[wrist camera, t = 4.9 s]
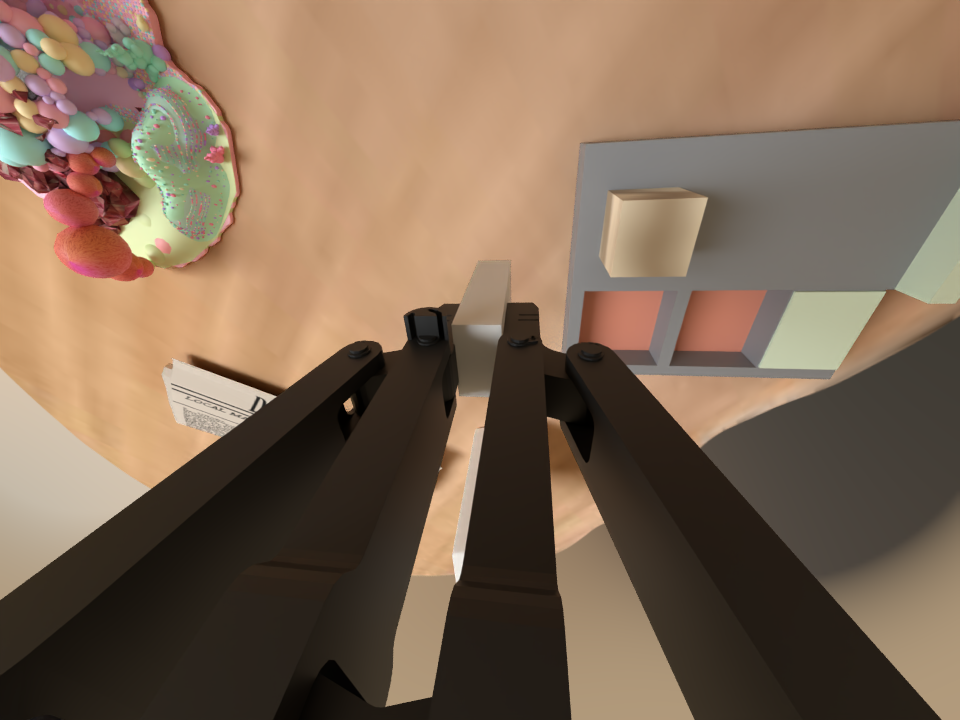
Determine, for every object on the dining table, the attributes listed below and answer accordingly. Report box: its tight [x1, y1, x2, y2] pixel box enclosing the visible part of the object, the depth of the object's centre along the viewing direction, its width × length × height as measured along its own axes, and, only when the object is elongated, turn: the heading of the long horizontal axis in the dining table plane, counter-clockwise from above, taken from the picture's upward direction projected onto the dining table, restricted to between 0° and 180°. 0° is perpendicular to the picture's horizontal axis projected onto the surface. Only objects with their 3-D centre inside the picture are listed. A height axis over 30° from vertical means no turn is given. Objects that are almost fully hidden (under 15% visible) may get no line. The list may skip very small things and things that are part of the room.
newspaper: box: [162, 358, 443, 471], centre depth 44 cm, size 35×12×4 cm, turn 71°
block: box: [599, 187, 708, 277], centre depth 22 cm, size 4×4×4 cm
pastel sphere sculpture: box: [0, 0, 240, 281], centre depth 23 cm, size 25×24×9 cm
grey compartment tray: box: [562, 120, 960, 379], centre depth 25 cm, size 25×18×6 cm
